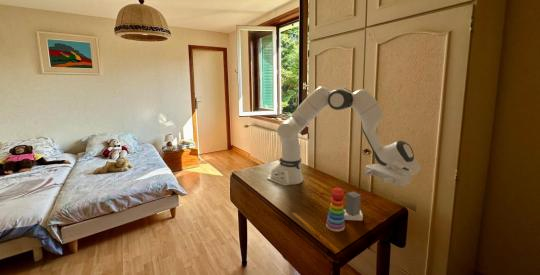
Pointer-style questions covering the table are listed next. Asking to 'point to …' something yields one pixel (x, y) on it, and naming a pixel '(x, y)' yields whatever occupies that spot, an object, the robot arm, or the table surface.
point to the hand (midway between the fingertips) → (374, 177)
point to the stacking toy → (336, 211)
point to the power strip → (350, 217)
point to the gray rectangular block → (353, 203)
